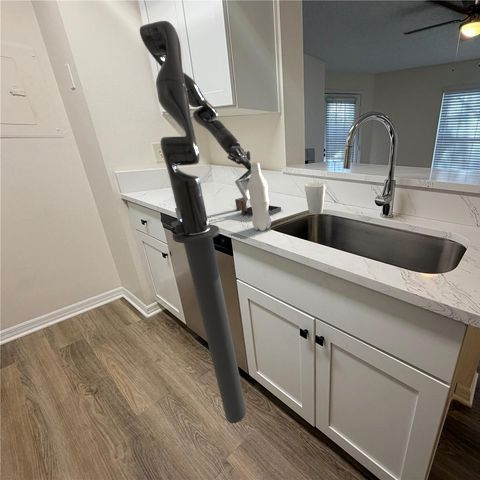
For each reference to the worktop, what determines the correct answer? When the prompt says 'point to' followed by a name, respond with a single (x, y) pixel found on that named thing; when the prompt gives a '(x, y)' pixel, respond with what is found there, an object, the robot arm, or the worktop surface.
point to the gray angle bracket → (244, 185)
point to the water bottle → (259, 198)
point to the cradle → (241, 205)
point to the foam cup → (315, 197)
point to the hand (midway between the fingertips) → (251, 169)
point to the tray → (271, 210)
